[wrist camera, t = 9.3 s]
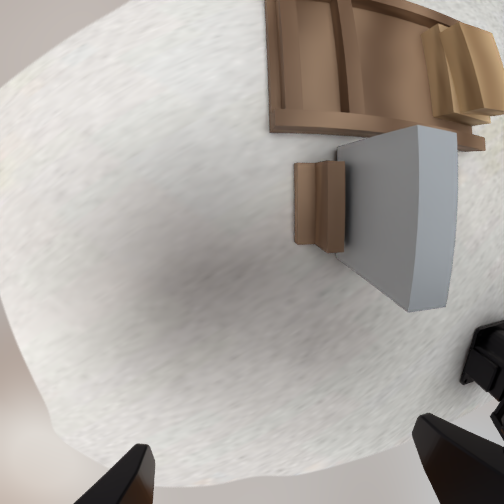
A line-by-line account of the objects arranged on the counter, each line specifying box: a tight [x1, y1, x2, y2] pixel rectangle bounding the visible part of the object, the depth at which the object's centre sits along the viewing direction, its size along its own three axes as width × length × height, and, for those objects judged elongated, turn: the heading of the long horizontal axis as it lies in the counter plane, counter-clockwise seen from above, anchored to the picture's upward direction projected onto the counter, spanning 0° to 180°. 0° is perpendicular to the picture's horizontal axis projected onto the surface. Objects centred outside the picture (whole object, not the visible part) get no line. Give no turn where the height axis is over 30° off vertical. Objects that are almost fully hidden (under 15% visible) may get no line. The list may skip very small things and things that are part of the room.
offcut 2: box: [439, 22, 504, 116], centre depth 14 cm, size 4×6×2 cm, turn 9°
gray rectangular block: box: [336, 125, 458, 312], centre depth 14 cm, size 2×7×9 cm, turn 1°
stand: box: [294, 161, 345, 253], centre depth 18 cm, size 7×5×4 cm
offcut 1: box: [421, 24, 491, 126], centre depth 16 cm, size 4×7×2 cm, turn 1°
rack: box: [265, 0, 485, 152], centre depth 17 cm, size 16×11×2 cm
